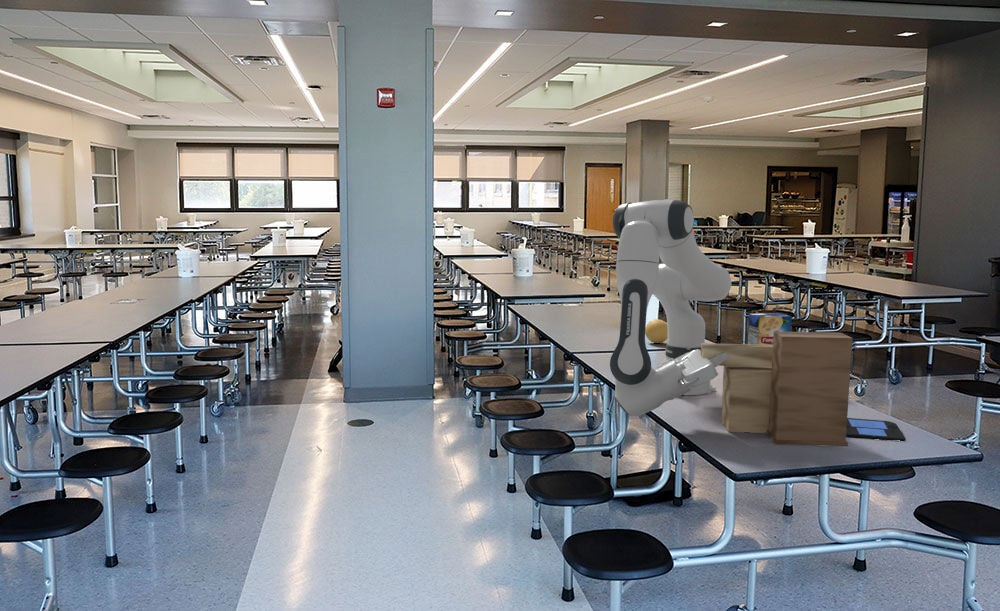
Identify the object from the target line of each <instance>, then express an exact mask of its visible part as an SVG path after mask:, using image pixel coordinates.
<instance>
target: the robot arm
mask: <svg viewBox="0 0 1000 611" xmlns="http://www.w3.org/2000/svg"><path fill="white" fill-rule="evenodd" d="M694 219H695V217H694V210H693V208H692V206H691V205H690V204H689V203H687V202H686V201H683V200H679V199H667V198H665V199H662V200H661V199H656V200H655V199H653V200H645V201H638V202H627V203H623V204H620V205H618V206H617V208H616V209H615V211H614V213H613V216H612V228H613V231H614V234H615V235H616V237H617V238H618V239H619V241H618V245H617V246H618V247H617V253H616V264H615V275H616V277H615V278H616V285H617V289H618V290H617V291H618V295H619V298H620V305H621V310H620V311H621V312H620V313H621V314H620V327H619V335H618V336H619V338H618V342H617V345H616V346H615V348H614V350H613V352H612V354H611V356H610V361H609V368H610V372H611V375H613V377H614V381H615V383H614V384H615V387H614V388H615V390H614V400H615V401H616V403H617V404H618V406H619V407H620V409H621V410H622V411H623V412H624V413H625V414H627V415H628V416H630V417H639V416H642V415H644V414H647V413H650V412H651V411H653V410H656V409H658V408H659V407H661V406H662V405H663V404H664V403H666V402H668V401H673V400H674V399H677V398H679V397H680V396H683V395H684V396H698V395H699V396H700V395H704V394H708V393H711V392H712V393H713V392H716V389H717V388H716V387H715V386H714V385H712V384H711V381H712V380H713V379H715V378H716V377H717V376H718V375H719V373H718V371H717V369H716V368H717V367H719V365H720V364H721V363H722V362H723V361H725V360H727V359H728V358H729V357H728V355H727V353H726V352H722V353H720V354H719V355H718V356H716V357H715V358H712V359H710V360H709V359H708V358H707V357H705V358H702V356H701V343H705V342H706V322H705V319H704V317H703V316H702V315H701V314H699V313H698V312H696V311H695V310H693V308H692V307H691V305H690V301H697V302H715V301H716V302H717V301H722V300H724V299H725V298H726V297H727V296H728V295H729V293H730V291H731V289H732V278H731V274H730V272H729V271H728V270H727V268H725V267H723V266H721V265H719V264H717V263H715V262H714V261H712V260H711V259H710V258H709V257H708V256H706V255H705V253H704V252H703V251H702V250H701V249H700V247H699V246H698V243H697V241H696V238H695V236H694V232H693V227H694V221H695V220H694ZM660 260H661V262H662V263H660ZM652 296H654V297H655V298H656V299H657V300H658V301H659V302H660V304H661V306H662V308H663V310H664V312H665V316H666V323H667V326H668V339H667V343H666V344H665V349H664V351H665V352H664V354H665V357H664V360H662V362H660V364H659V365H657V366H656V367H657V368H655V369H653V368H652V360H651V356H650V354H649V351H648V348H647V346H646V333H645V329H646V326H647V313H648V306H649V304H650V301H651V298H652Z"/></svg>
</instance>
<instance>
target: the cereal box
mask: <svg viewBox="0 0 1000 611" xmlns="http://www.w3.org/2000/svg"><path fill="white" fill-rule="evenodd" d="M792 317H793V316H792V315H788V314H785V313H782V312H776V313H775V312H773V313H772V312H771V313H770V312H769V313H766V312H765V313H764V312H763V313H748V328H747V329H748V330H747V332H748V333H747V334H748V335H747V344H761V345H773V335H774V332H792Z"/></svg>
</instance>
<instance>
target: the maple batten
mask: <svg viewBox="0 0 1000 611" xmlns="http://www.w3.org/2000/svg"><path fill="white" fill-rule="evenodd" d="M722 352H726V353H727V355H728V357H729V358H728V359H727V360H725V361H723V362H722V363H721V364H720V365H719V366H721V367H724V366H759V367H772V354H773V345H761V344H748V343H710V342H709V343H701V356H702V358H705V357H707V358H708V359H709V360H710V359H712V358H715V357H716V356H718V355H719V354H720V353H722ZM719 366H718V367H719Z"/></svg>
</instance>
